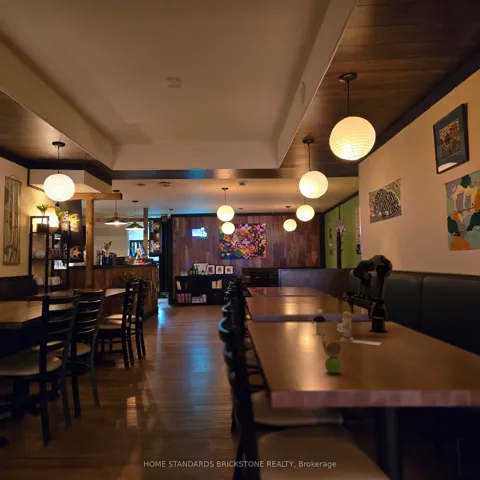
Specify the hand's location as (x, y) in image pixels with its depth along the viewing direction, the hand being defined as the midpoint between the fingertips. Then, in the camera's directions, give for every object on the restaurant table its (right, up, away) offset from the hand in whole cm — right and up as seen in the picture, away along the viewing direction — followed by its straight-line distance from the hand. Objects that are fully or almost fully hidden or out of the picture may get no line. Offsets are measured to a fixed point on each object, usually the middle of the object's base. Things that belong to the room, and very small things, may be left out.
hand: (361, 315), depth 182 cm
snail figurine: (-28, -8, -57) cm, 64 cm away
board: (-4, -10, -11) cm, 15 cm away
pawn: (-9, -10, -7) cm, 15 cm away
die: (-4, -12, +17) cm, 21 cm away
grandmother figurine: (-18, -12, +9) cm, 23 cm away
